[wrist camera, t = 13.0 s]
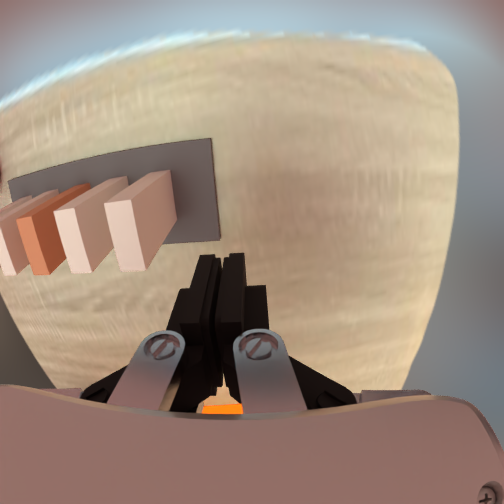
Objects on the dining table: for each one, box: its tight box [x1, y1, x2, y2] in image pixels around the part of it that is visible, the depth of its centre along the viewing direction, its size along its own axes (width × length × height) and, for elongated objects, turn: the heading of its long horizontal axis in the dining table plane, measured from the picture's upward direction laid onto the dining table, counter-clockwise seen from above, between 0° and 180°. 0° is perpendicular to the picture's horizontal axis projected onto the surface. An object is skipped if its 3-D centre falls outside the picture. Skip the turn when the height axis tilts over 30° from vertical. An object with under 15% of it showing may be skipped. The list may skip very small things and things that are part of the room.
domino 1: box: [0, 195, 32, 268], centre depth 22 cm, size 2×5×10 cm, turn 3°
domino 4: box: [53, 176, 129, 274], centre depth 22 cm, size 2×5×10 cm, turn 3°
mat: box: [8, 138, 220, 244], centre depth 27 cm, size 10×26×1 cm, turn 93°
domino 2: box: [0, 189, 59, 275], centre depth 22 cm, size 2×5×10 cm, turn 3°
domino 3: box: [16, 183, 91, 275], centre depth 22 cm, size 2×5×10 cm, turn 3°
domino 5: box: [104, 170, 177, 272], centre depth 22 cm, size 2×5×10 cm, turn 3°
